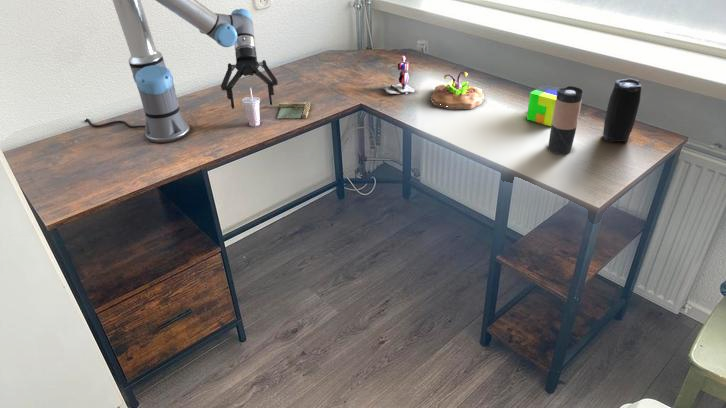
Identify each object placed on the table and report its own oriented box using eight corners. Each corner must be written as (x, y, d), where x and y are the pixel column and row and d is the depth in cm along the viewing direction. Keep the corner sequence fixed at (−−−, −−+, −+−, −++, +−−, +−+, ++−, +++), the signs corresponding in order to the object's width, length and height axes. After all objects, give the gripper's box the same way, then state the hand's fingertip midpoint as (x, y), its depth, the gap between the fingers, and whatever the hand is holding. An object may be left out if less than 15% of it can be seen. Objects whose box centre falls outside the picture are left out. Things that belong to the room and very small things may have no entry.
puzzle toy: (565, 117, 198) (570, 91, 193) (552, 126, 192) (557, 100, 187) (540, 110, 204) (544, 84, 198) (526, 119, 198) (530, 93, 193)
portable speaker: (595, 138, 184) (608, 82, 173) (611, 129, 189) (624, 75, 178) (619, 147, 179) (634, 90, 168) (634, 138, 184) (649, 82, 173)
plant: (478, 112, 204) (481, 83, 198) (426, 107, 210) (427, 78, 203) (486, 92, 220) (489, 64, 214) (438, 87, 225) (439, 60, 219)
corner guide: (274, 118, 205) (274, 115, 205) (279, 106, 215) (279, 102, 214) (306, 118, 205) (306, 114, 204) (310, 105, 214) (310, 102, 213)
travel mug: (568, 156, 175) (580, 97, 164) (544, 150, 178) (554, 92, 167) (574, 146, 180) (586, 88, 169) (551, 141, 184) (561, 84, 172)
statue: (405, 87, 229) (409, 51, 222) (414, 95, 222) (419, 58, 214) (381, 89, 225) (384, 52, 218) (390, 97, 218) (393, 59, 210)
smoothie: (259, 128, 199) (254, 92, 191) (243, 127, 200) (236, 91, 192) (265, 120, 204) (260, 85, 196) (249, 119, 205) (243, 84, 198)
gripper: (209, 49, 197) (215, 105, 193) (279, 42, 200) (286, 97, 196) (212, 58, 204) (218, 112, 200) (280, 52, 207) (287, 105, 203)
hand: (252, 105), depth 198 cm, fingers open, 13 cm apart
